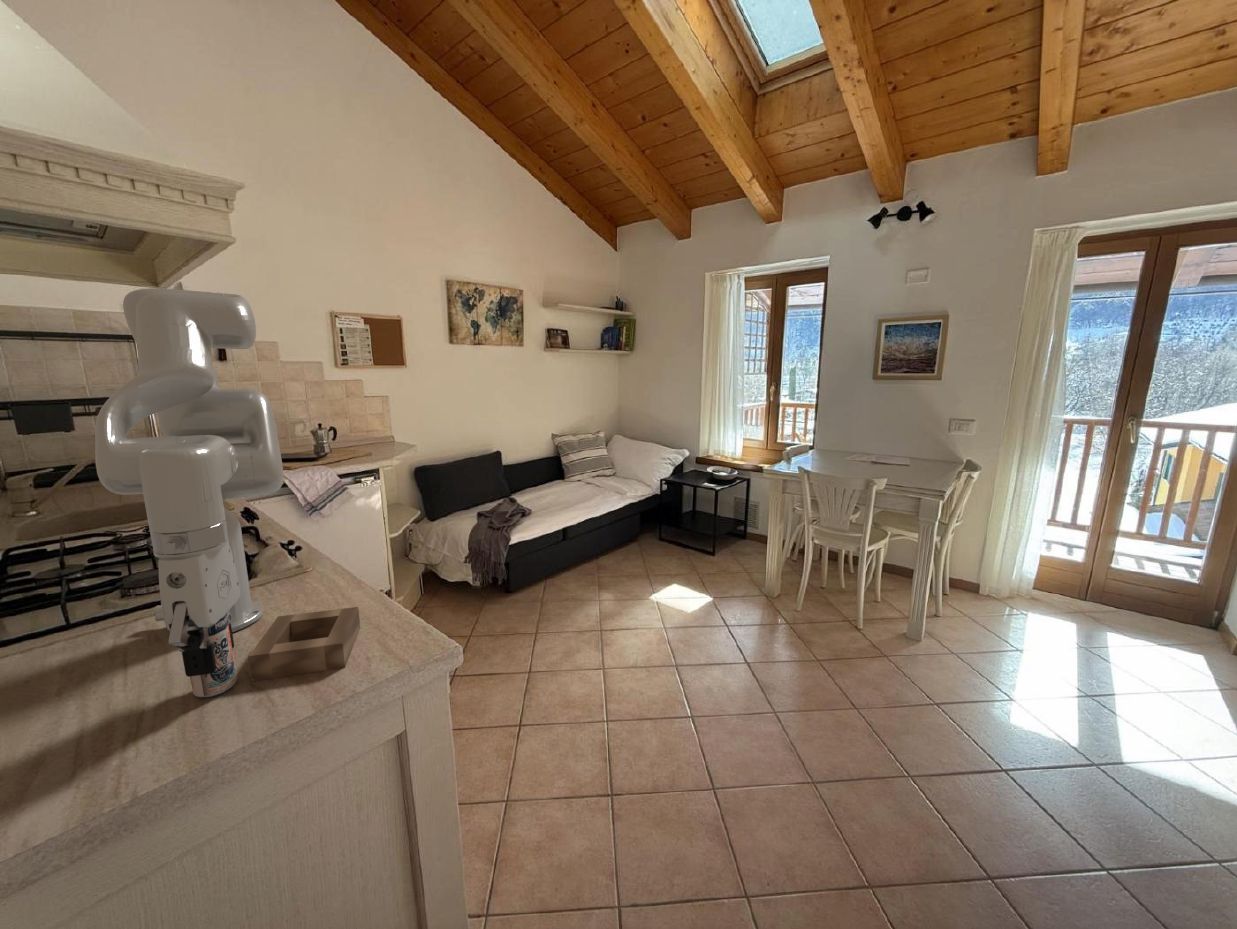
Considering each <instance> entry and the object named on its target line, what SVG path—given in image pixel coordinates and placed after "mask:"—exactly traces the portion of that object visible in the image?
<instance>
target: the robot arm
mask: <svg viewBox="0 0 1237 929" xmlns="http://www.w3.org/2000/svg"><path fill="white" fill-rule="evenodd" d="M122 303H123V304H122V308H123V314H124V317H125V321H126V324H127V327H128V329H129V331H130V334H131V336H132V338H133V340H134V341H135V343H136V345H137V361H138V362H137V364H138V365H137V366H138V374H137V375H136V376H134V377H133V378H131V379H130V380H128V381H127V382H125V383H124V384H123V385H121V386H120V387H119V388H118V389H116V390H115V391H114V392H113V393H112V394H111V395H110V396H109V398H108V399H107V400H106V401H105V402H104V404H103V405H102V407H100V410H99V413H98V414H97V417H96V420H95V427H94V428H95V429H94V434H95V437H94V438H95V442H94V451H95V452H94V454H95V455H94V456H95V458H94V459H95V468H96V473H97V475H96V476H97V477H98V479H99V483H101V485H102V486H103V487H104V488H105V489H106V490H108V491H109V492H111V493H114V494H116V495H124V496H125V495H126V496H128V495H129V496H132V495H141V494H142V496H143V502H144V505H145V511H146V512H145V513H146V517H147V518H146V519H147V522H148V523H147V524H148V528H149V533H150V534H149V535H150V539H151V544H152V549H153V556H154V557H155V558H158V585H159V586H158V587H159V594H160V596H159V598H160V604H161V605H156V606H155V607H154V610H153V614H154V615H153V616H154V620H155V621H156V622H162V621H163V622H164V624H165V626H166V627H165V628H166V629H167V631H169V637H168V644H169V645H171V646H175V647H177V648H178V651H179V652H181V655H182V662H183V666H184V672H185V673H184V674H185V676H186V677H189V678H190V676H197V675H205V674H212V673H214V672H215V670H216V663H215V656H214V650H213V644H209V635H208V628H209V627H212V626H213V625H215V624H216V623H217V622H218V621H219V620H220V619H221V618H222V617H223V616H224V615H225V614H226V613H227V618H228V624H229V631H230V637H231V644H232V650H233V649H234V648H235V642H234V635H233V633H235V632H238V631H240V630H242V629H244V628H247V627H248V626H250V625H252V624H254V623H255V622H257V621H258V620H259V619H260V618H261V617H262V616H263V614H264V606H263V604H262V603H261V602H259V601H256V600H252V597H251V590H250V584H249V583H250V582H249V576H248V569H247V568H248V567H247V562H246V553H245V547H244V541H243V540H244V539H243V534H242V527H241V523H240V521H239V519H238V518H237V516H236V515H235V514H234V513H232V512H231V511H230V510H228V509H227V508H226V507H225V506H224V501H227V500H233V499H243V498H250V497H252V498H253V497H259V496H266V495H271V494H274V493H277V491H279V490H280V489H281V488H282V486H283V483H284V476H285V475H284V467H283V461H282V454H281V447H280V441H279V436H278V429H277V424H276V423H277V422H276V420H275V418H276V417H275V414H274V410H273V406H272V404H271V402H270V400H269V398H268V397H267V396H266V395H265V394H264V393H263V392H261V391H259V390H255V389H250V388H249V389H246V388H243V389H242V388H238V389H236V388H227V389H225V388H220V385H219V379H218V378H219V377H218V371H217V369H216V367H215V366H214V364H213V356H212V349H225V350H226V349H228V350H230V349H233V350H246V349H250V348H252V347H253V345H254V343H255V341H256V337H257V325H256V321H255V320H256V319H255V316H254V312H253V310H252V308H251V305H250V304H249V302H248V300H247V299H246V298H245V297H244V296H242V295H240V294H233V293H223V292H212V291H211V292H209V291H198V290H188V289H176V288H175V289H174V288H161V287H159V288H156V287H155V288H153V287H151V288H150V287H149V288H141V289H135V290H133V291H129V292H128V293H127V294H125V296H124V298H123V300H122ZM156 413H157V418H158V425H159V429H160V432H161V433H162V436H150V437H134V438H128V435H129V434H130V431H131V430H132V428H134V427H135V426H136V425H137V424H138V423H139V422H141V421H142V420H144V419H146V418H148V417H149V416H152V415H155V414H156ZM190 621H193V622H194V623H195V624H194V625H188V624H189V622H190ZM195 630H199V638H198V637H197V636H195V635H192V636H191V635H189V634H188V631H195ZM208 644H209V645H208Z"/></svg>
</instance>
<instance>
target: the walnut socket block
mask: <svg viewBox="0 0 1237 929" xmlns="http://www.w3.org/2000/svg"><path fill="white" fill-rule="evenodd" d="M360 623H361V622H360V610H359V606H355V607H354V606H353V607H345V608H337V609H328V610H319V611H313V612H304V613H303V612H302V613H295V614H289V615H279V616H277V617H276V618H275V619H274V621H273V623H272V624H271V626H269V628H268V629H267V631H266V632H265V633H264V634H263V636H262V637H261V639H260V640H259V641H258V643H257V644H256V645H255V647H254V648H253V650H252V651H251V652H250V654H249V655H248V660H249V666H250V667H249V670H250V675H251V681H252V682H257V681H263V680H269V679H275V678H277V679H278V678H283V677H290V676H296V675H302V674H308V673H309V674H310V673H315V672H323V671H329V670H335V669H342V668H346V666H347V663H348V661H349V658H350V656H351V653H352V650H353V648H354V644H355V643H356V640H357V637H358V635H359V632H360V630H361V624H360Z"/></svg>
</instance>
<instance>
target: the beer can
mask: <svg viewBox="0 0 1237 929" xmlns="http://www.w3.org/2000/svg"><path fill="white" fill-rule="evenodd" d="M194 624H195V623H194V622H193V621H190V622H189V624H188V625H194ZM188 634H189V635H191V636H192V635H195V636H197V637H198V638H199V630H195V631H188ZM208 635H209V644H213V650H214V656H215V663H216V670H215V672H214V673H212V674H205V675H197V676H190V677H189V678H190V683H191V690H192V694H193V695H194V696H195V697H198V698H211V697H216V696H219V695H222V694H223V693H225V692H227V691H229V689H231V688H232V687H233V686H235V684H236V683H237V680H238V676H237V671H236V664H235V659H234V652H233V649H232V644H231V637H230V631H229V624H228V618H227V613H226V614H225V615H224V616H223V617H222V618H221V619H220V620H219V621H218V622H217V623H216V624H215V625H213V626H212V627H209V628H208ZM209 644H208V645H209Z"/></svg>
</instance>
